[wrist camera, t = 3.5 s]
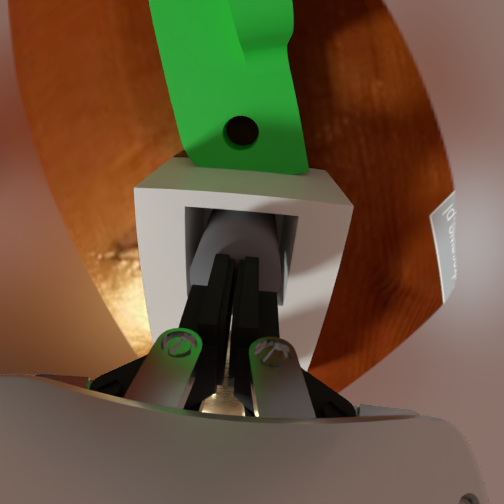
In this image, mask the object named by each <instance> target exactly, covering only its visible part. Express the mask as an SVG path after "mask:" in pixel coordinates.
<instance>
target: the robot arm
mask: <svg viewBox="0 0 504 504" xmlns="http://www.w3.org/2000/svg"><path fill="white" fill-rule="evenodd" d="M234 268H235V259H230V255H226V254H216V255H215V258H214V262H213V266H212V270H211V273H210V277H209V281H208V285H207V286H204V285H194V284H193V285H192V287H191V289H190V292H189V296H188V299H187V302H186V305H185V308H184V311H183V314H182V317H181V321H180V324H179V327H178V328H173V329H170V330H167V331H165V332H163V333H162V334H161V335H160V336H159V337H158V338H157V340H156V342H155V343H154V345H153V347H152V348H151V350H150V352H149V353H148V354H147V355H145V356H143V357H141V358H139V359H137V360H135V361H132V362H130V363H128V364H126V365H123V366H121V367H119V368H117V369H115V370H112V371H110V372H108V373H106V374H104V375H101V376H100V377H98V378H96V379H95V380H90V379H89V377H77V376H64V375H63V376H62V375H52V374H37V375H35V376H34V375H26V374H5V375H0V504H490V503H489V498H488V494H487V490H486V486H485V482H484V479H483V476H482V473H481V470H480V467H479V464H478V461H477V459H476V456H475V454H474V451H473V449H472V447H471V445H470V443H469V441H468V439H467V438H466V436H465V435H464V433H463V432H462V431H461V430H460V428H459V427H457V426H456V425H454V424H453V423H451V422H448V421H446V420H443V419H440V418H435V417H430V416H424V415H420V414H418V413H417V412H415V411H412V410H407V409H398V408H388V407H379V406H372V405H364V404H360V405H359V407H357V406H353V405H352V404H351V403H350V402H349V401H348V400H346V399H345V398H343V397H342V396H341V395H339V394H338V393H336V392H335V391H333V390H332V389H331V388H329V387H328V386H326V385H325V384H323V383H322V382H321V381H319V380H318V379H316V378H315V377H314V376H312V375H311V374H309V373H308V372H307V371H305V370H304V369H303V368H301V366H300V363H299V360H298V357H297V353H296V351H295V349H294V347H293V346H292V345H291V344H290V343H289V342H288V341H286V340H284V339H282V338H280V334H279V318H278V302H277V292H271V291H259V257H249V256H245V260H241V259H239V267H238V275H237V283H236V291H235V299H234V307H233V316H232V325H231V315H232V300H233V284H234ZM230 325H231V339H230V357H229V375H228V386H231V387H234V392H233V396H234V397H235V398H237V399H238V400H239V401H240V402H241V403H242V412H243V416H236V415H225V414H215V413H207V412H202V411H203V408H204V405H205V399H206V398H208V397H210V396H211V395H213V394H215V393H217V385H220V386H223V383H224V375H225V366H226V358H227V350H228V341H229V333H230Z"/></svg>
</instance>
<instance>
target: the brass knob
mask: <svg viewBox="0 0 504 504" xmlns="http://www.w3.org/2000/svg"><path fill="white" fill-rule="evenodd" d="M230 339H231V330H230V333H229V341H228V350H227V358H226V366H225V375H224V383H223V386H220V385H217V393H215V394H213V395H211V396H210V397H208V398H206V399H205V405H204V408H203V411H202V412H207V413H215V414H225V415H236V416H243V412H242V403H241V402H240V401H239V400H238V399H237V398H235V397H234V396H233V392H234V387H231V386H228V375H229V357H230Z"/></svg>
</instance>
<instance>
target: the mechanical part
mask: <svg viewBox="0 0 504 504" xmlns="http://www.w3.org/2000/svg"><path fill="white" fill-rule="evenodd" d="M149 5H150V10H151V15H152V19H153V24H154V29H155V34H156V38H157V43H158V47H159V52H160V56H161V60H162V65H163V69H164V73H165V78H166V82H167V86H168V90H169V94H170V98H171V102H172V106H173V110H174V114H175V118H176V122H177V126H178V130H179V134H180V138H181V141H182V144H183V147H184V149H185V151H186V153H187V155H188V156H189V158H190V159H191V161H192V162H193V163H194V164H195V165H196V166H197V167H204V168H220V169H234V170H246V171H258V172H268V173H278V174H288V175H295V174H301V173H307V172H309V167H308V161H307V155H306V149H305V143H304V137H303V132H302V126H301V121H300V115H299V110H298V105H297V100H296V95H295V90H294V85H293V81H292V76H291V71H290V67H289V61H288V55H287V44H288V42H289V40H290V38H291V36H292V33H293V27H294V14H293V2H292V0H149ZM235 116H246V117H249V118H251V119H252V120H253V121H254V122H255V123H256V124H257V126H258V129H259V134H258V137H257V138H256V140H255V141H254V142H252V143H251V144H248V145H238V144H235V143H234V142H232V141H231V140H230V139H229V137H228V135H227V125H228V123H229V121H230V120H231V119H232V118H233V117H235Z"/></svg>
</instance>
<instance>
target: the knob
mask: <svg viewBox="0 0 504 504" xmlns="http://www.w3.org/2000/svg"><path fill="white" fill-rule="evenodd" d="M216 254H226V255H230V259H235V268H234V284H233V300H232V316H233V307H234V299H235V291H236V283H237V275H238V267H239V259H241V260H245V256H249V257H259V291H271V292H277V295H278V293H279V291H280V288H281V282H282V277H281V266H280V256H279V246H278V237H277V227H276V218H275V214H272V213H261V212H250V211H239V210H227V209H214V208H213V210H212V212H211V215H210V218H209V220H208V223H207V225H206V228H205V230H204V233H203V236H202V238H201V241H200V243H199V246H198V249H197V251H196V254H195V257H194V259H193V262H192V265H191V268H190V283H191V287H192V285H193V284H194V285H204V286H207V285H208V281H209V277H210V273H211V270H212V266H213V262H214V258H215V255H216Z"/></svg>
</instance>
